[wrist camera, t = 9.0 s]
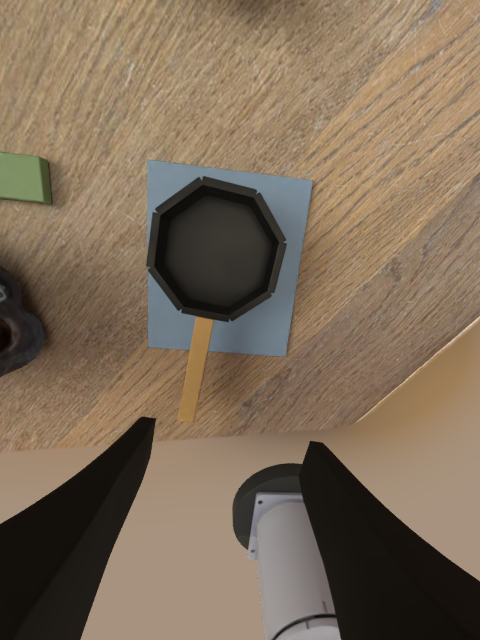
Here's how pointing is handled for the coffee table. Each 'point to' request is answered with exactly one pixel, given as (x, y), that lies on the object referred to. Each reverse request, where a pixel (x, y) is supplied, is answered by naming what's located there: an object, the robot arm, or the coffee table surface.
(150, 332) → the napkin
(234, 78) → the coffee table surface
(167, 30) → the coffee table surface
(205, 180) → the pan
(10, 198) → the green rectangular block
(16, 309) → the figurine
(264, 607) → the robot arm
